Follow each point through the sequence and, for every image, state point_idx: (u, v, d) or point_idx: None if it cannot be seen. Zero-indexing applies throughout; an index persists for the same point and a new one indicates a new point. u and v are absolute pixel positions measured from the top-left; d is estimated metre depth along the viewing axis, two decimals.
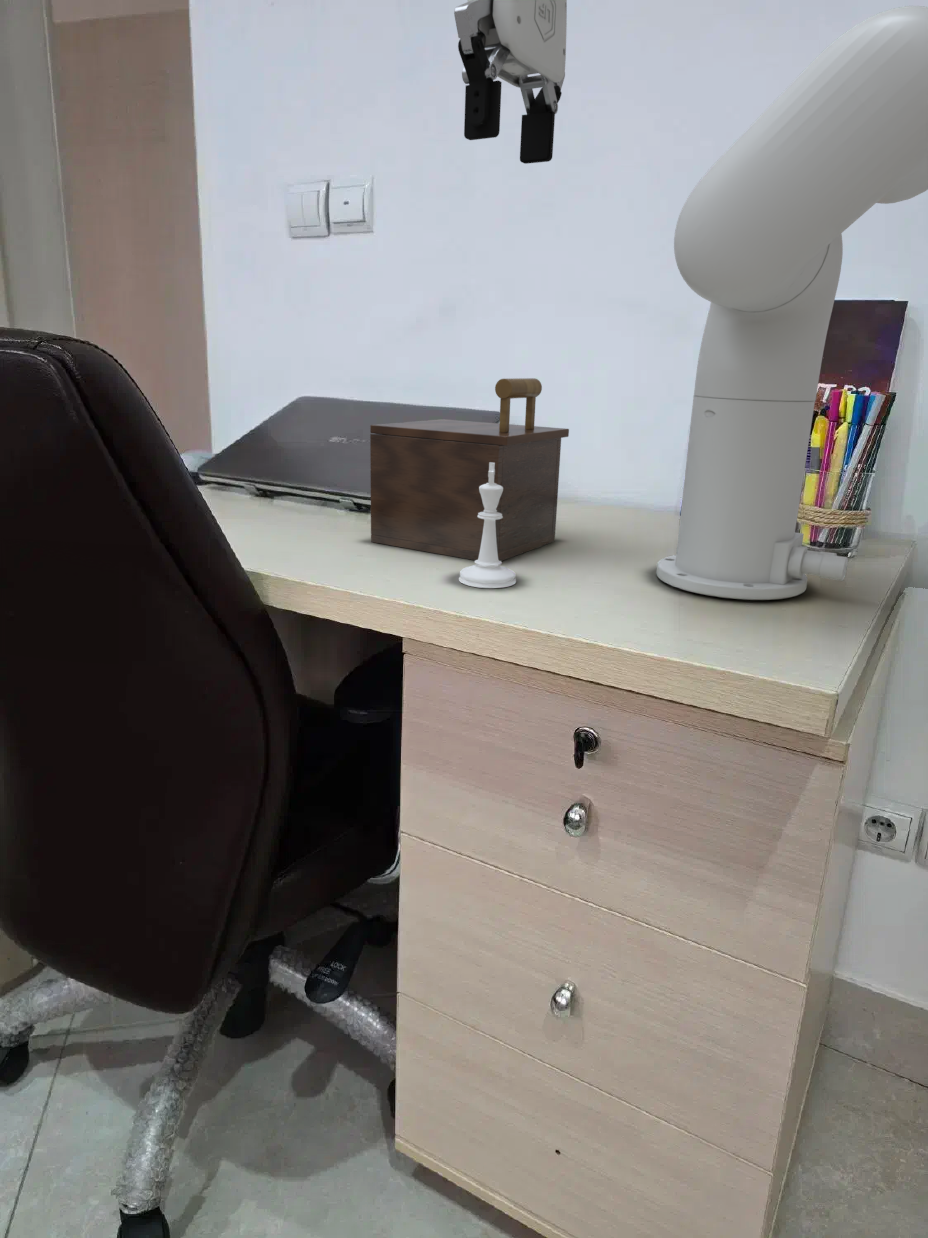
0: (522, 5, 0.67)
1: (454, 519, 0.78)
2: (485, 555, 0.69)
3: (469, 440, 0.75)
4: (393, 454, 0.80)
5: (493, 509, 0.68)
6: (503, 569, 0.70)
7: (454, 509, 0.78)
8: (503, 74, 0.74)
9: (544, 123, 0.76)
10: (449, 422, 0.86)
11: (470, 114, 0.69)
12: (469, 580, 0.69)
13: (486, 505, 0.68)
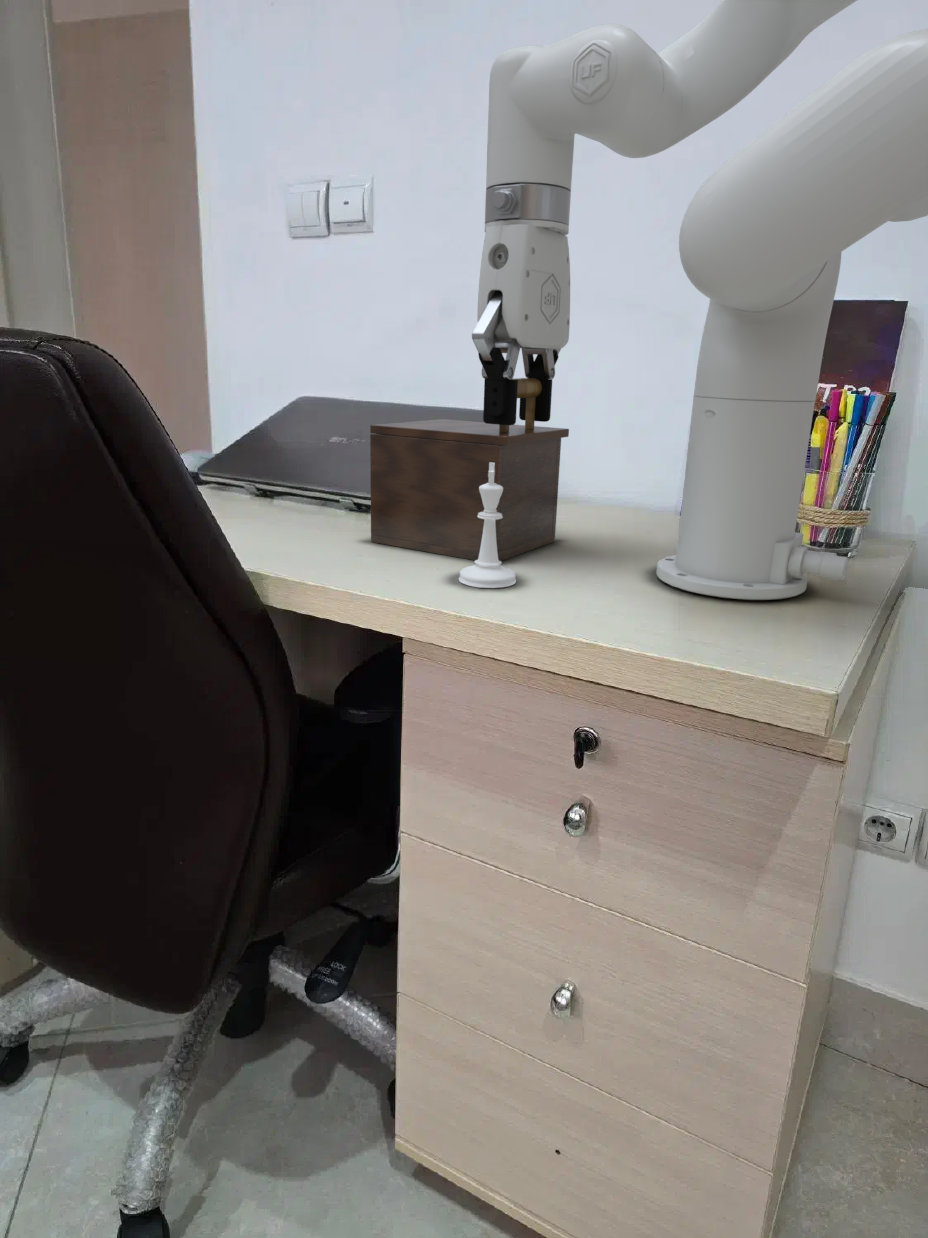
0: (530, 303, 0.72)
1: (454, 519, 0.78)
2: (485, 555, 0.69)
3: (469, 440, 0.75)
4: (393, 454, 0.80)
5: (493, 509, 0.68)
6: (503, 569, 0.70)
7: (454, 509, 0.78)
8: None
9: (542, 389, 0.80)
10: (449, 422, 0.86)
11: (489, 406, 0.75)
12: (469, 580, 0.69)
13: (486, 505, 0.68)
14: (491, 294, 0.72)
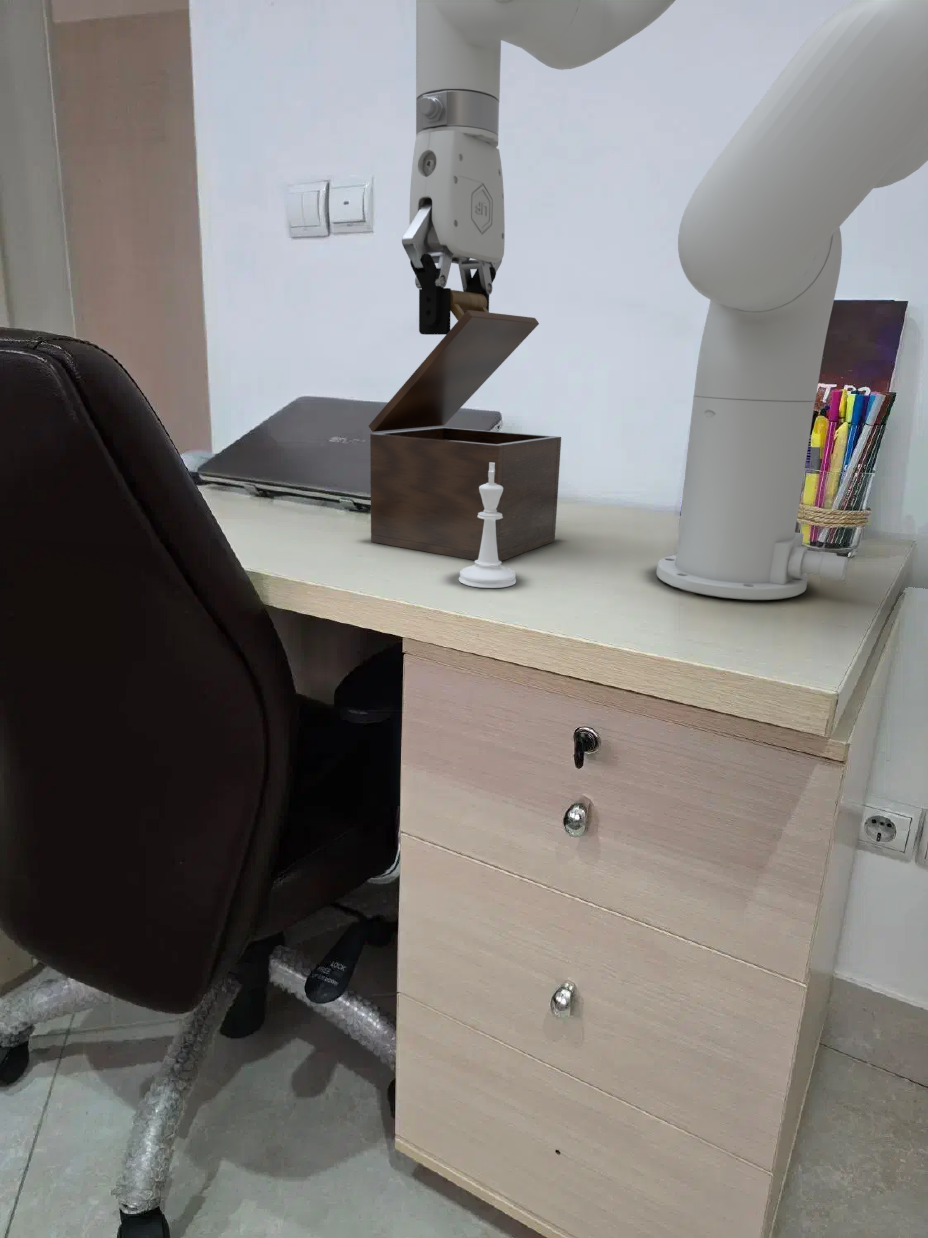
0: (459, 209, 0.73)
1: (454, 519, 0.78)
2: (485, 555, 0.69)
3: (443, 347, 0.74)
4: (393, 454, 0.80)
5: (493, 509, 0.68)
6: (503, 569, 0.70)
7: (454, 509, 0.78)
8: None
9: None
10: None
11: (423, 315, 0.77)
12: (469, 580, 0.69)
13: (486, 505, 0.68)
14: (422, 202, 0.74)
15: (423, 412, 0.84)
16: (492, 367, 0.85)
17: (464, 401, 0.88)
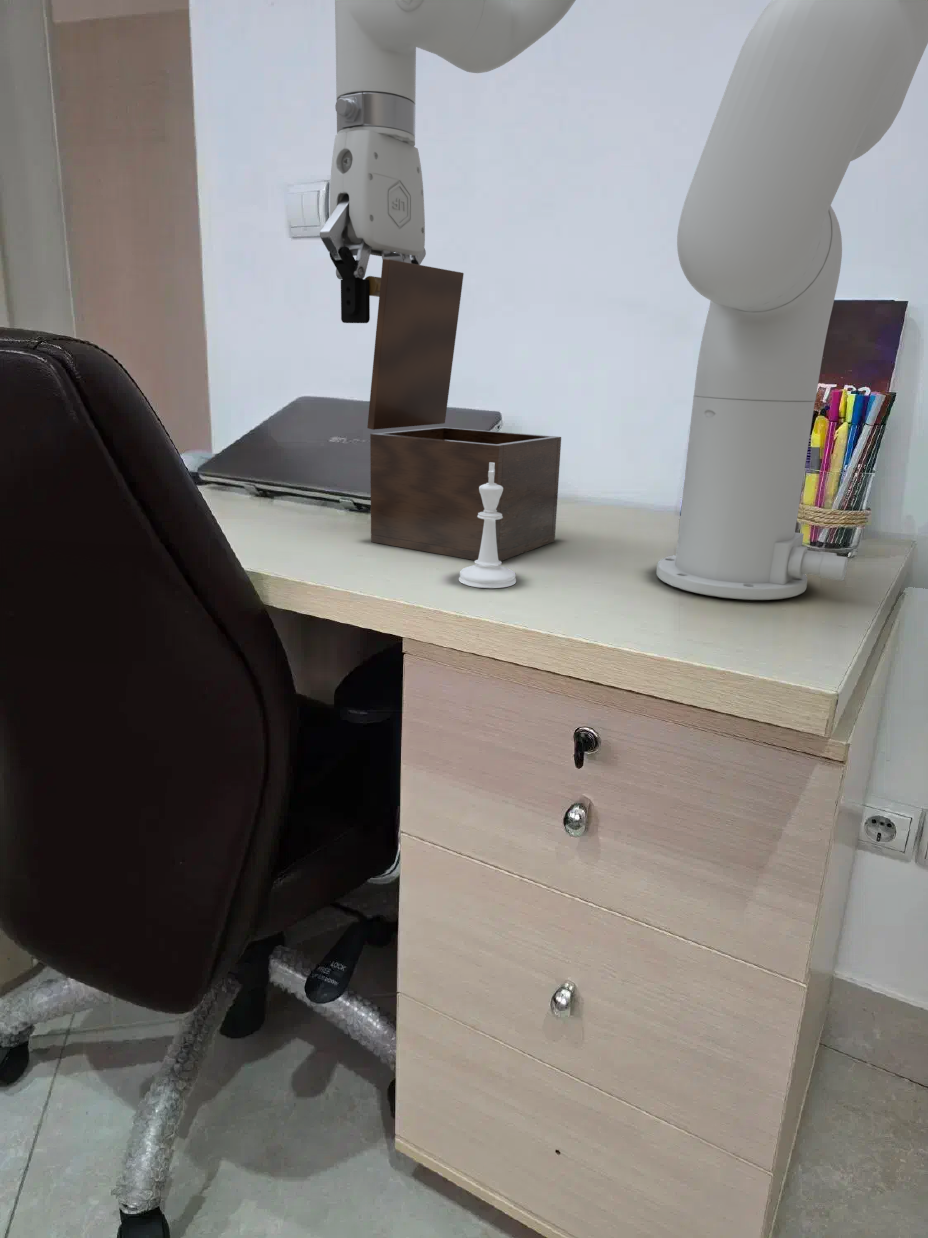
0: (374, 205, 0.77)
1: (454, 519, 0.78)
2: (485, 555, 0.69)
3: (383, 304, 0.76)
4: (393, 454, 0.80)
5: (493, 509, 0.68)
6: (503, 569, 0.70)
7: (454, 509, 0.78)
8: (370, 248, 0.85)
9: None
10: None
11: (344, 305, 0.81)
12: (469, 580, 0.69)
13: (486, 505, 0.68)
14: (341, 198, 0.78)
15: (412, 401, 0.84)
16: (449, 335, 0.86)
17: (447, 386, 0.89)
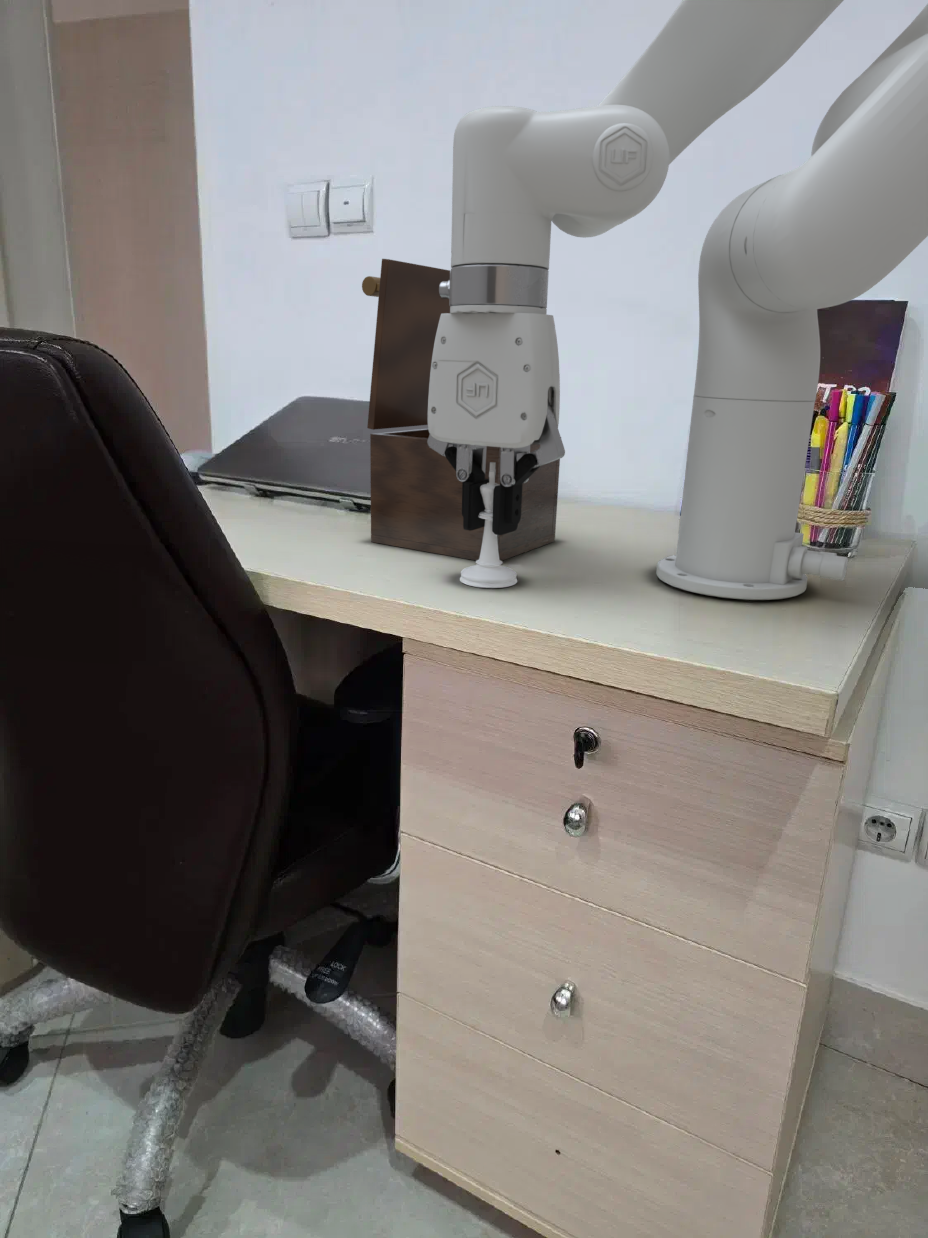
0: (438, 396, 0.66)
1: (454, 519, 0.78)
2: (486, 555, 0.69)
3: (383, 304, 0.76)
4: (393, 454, 0.80)
5: None
6: (504, 569, 0.70)
7: (454, 509, 0.78)
8: None
9: None
10: None
11: None
12: (470, 580, 0.69)
13: (487, 505, 0.68)
14: None
15: (412, 401, 0.84)
16: None
17: None
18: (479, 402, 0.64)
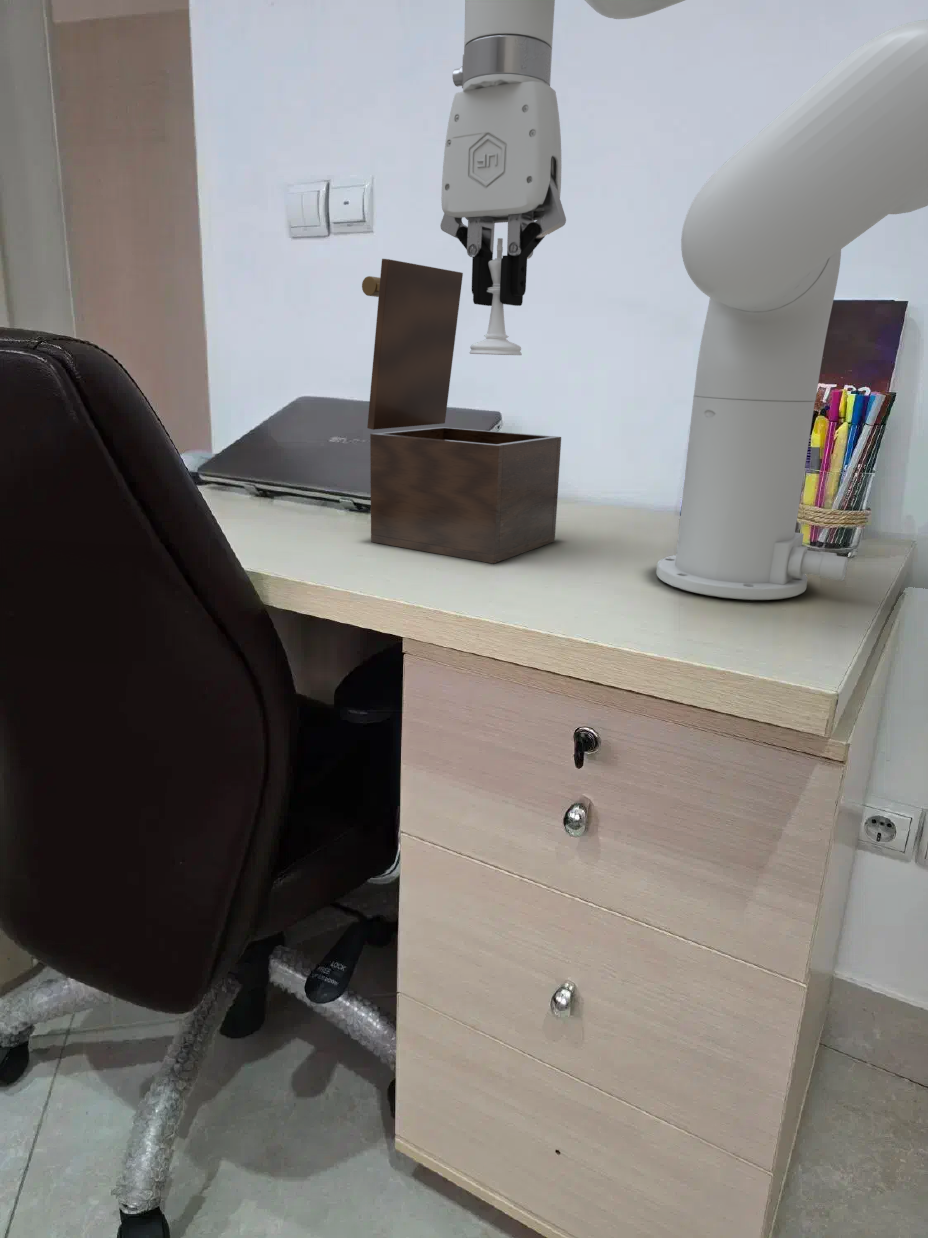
0: (452, 172, 0.73)
1: (454, 519, 0.78)
2: (494, 326, 0.76)
3: (383, 304, 0.76)
4: (393, 454, 0.80)
5: None
6: (510, 342, 0.77)
7: (454, 509, 0.78)
8: None
9: None
10: None
11: None
12: (479, 348, 0.76)
13: (494, 279, 0.75)
14: None
15: (412, 401, 0.84)
16: (449, 335, 0.86)
17: (447, 386, 0.89)
18: (489, 172, 0.71)
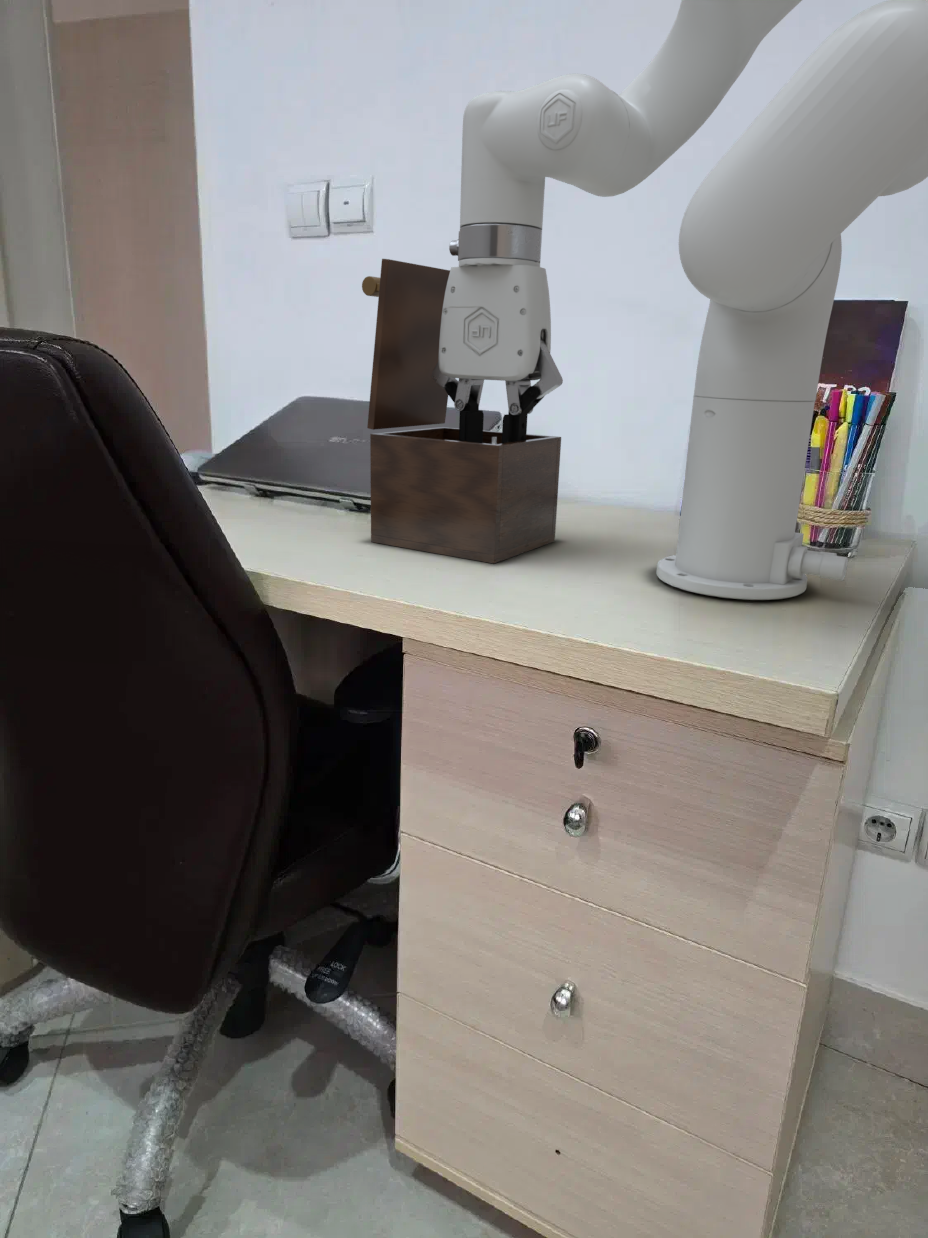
0: (448, 337, 0.78)
1: (454, 519, 0.78)
2: None
3: (383, 304, 0.76)
4: (393, 454, 0.80)
5: None
6: None
7: (454, 509, 0.78)
8: None
9: None
10: None
11: None
12: None
13: None
14: None
15: (412, 401, 0.84)
16: None
17: None
18: (482, 342, 0.76)
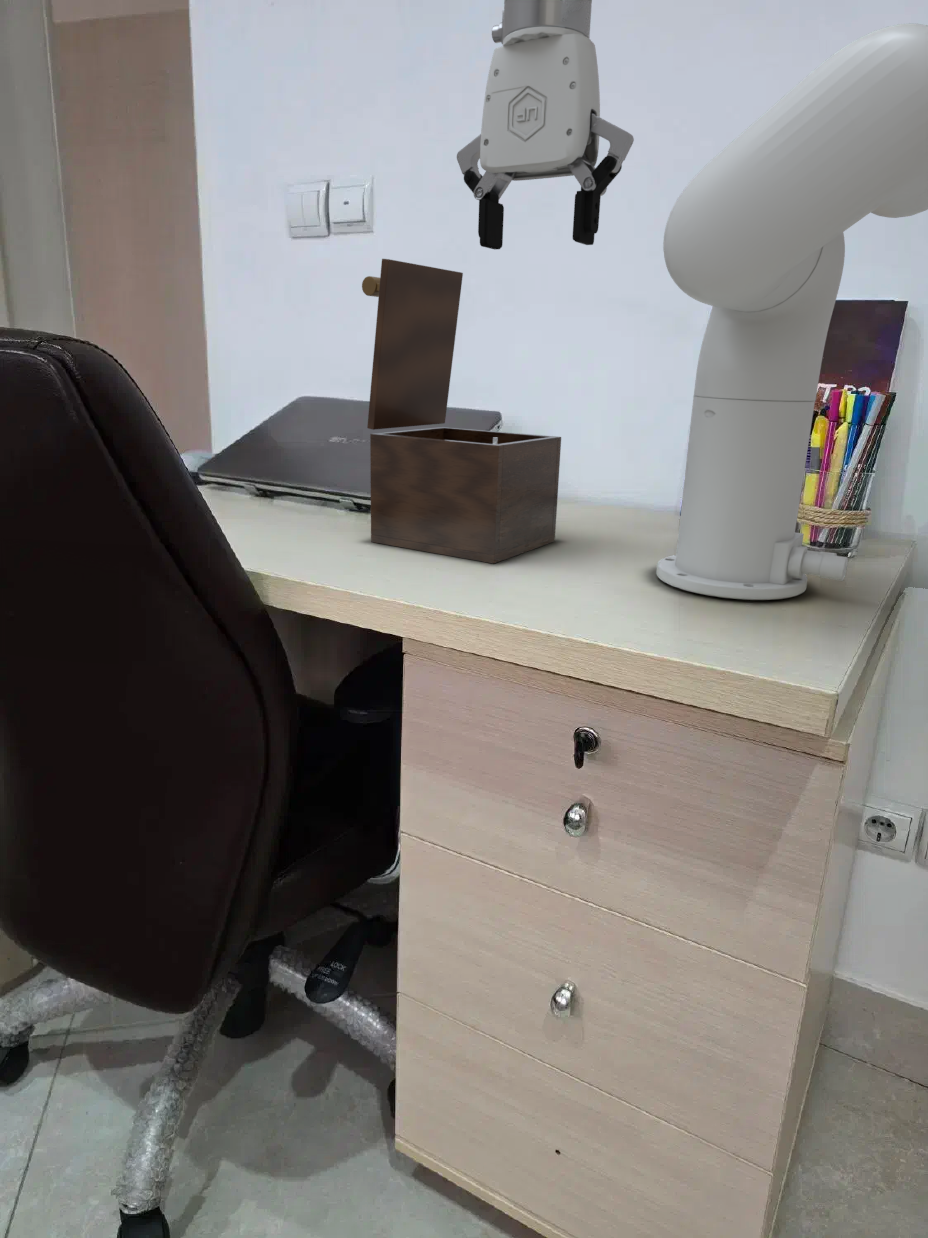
0: (491, 127, 0.74)
1: (454, 519, 0.78)
2: None
3: (383, 304, 0.76)
4: (393, 454, 0.80)
5: None
6: None
7: (454, 509, 0.78)
8: (562, 170, 0.76)
9: None
10: None
11: None
12: None
13: None
14: None
15: (412, 401, 0.84)
16: (449, 335, 0.86)
17: (447, 386, 0.89)
18: (528, 126, 0.72)
